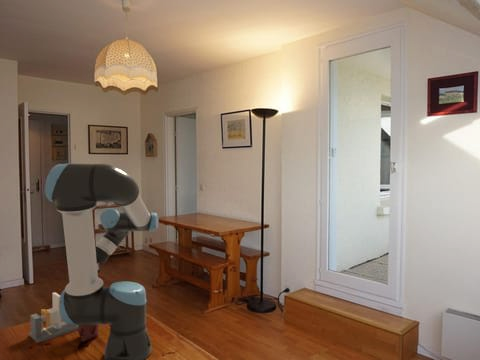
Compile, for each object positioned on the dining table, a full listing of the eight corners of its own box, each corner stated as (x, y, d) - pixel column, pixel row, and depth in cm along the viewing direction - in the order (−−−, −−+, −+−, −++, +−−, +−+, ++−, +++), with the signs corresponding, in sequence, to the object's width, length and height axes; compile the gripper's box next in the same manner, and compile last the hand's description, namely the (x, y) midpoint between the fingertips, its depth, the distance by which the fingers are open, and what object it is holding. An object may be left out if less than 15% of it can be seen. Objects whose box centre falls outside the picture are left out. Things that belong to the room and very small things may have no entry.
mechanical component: (108, 332, 137) (92, 345, 127) (85, 329, 139) (67, 342, 129) (108, 300, 136) (92, 310, 126) (84, 298, 138) (67, 308, 128)
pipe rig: (75, 321, 146) (75, 301, 146) (84, 327, 141) (84, 306, 140) (29, 335, 133) (29, 313, 133) (37, 342, 128) (36, 320, 128)
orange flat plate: (44, 322, 136) (44, 308, 136) (50, 326, 132) (49, 312, 132) (41, 323, 135) (41, 309, 135) (46, 327, 132) (46, 313, 131)
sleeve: (55, 323, 139) (55, 292, 139) (61, 327, 135) (61, 296, 135) (44, 326, 136) (43, 294, 136) (50, 331, 132) (50, 299, 132)
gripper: (116, 258, 147) (75, 310, 135) (101, 253, 156) (62, 301, 144) (104, 247, 143) (60, 300, 131) (89, 242, 152) (47, 291, 140)
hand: (61, 301), depth 138 cm, fingers closed
